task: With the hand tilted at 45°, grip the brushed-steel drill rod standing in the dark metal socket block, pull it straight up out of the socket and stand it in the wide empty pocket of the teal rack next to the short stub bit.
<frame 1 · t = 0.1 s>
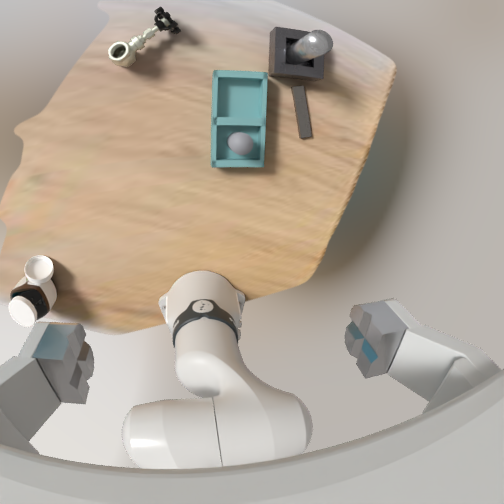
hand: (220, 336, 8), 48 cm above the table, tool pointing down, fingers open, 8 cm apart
valve: (144, 44, 40), on the table
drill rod: (294, 55, 45), point 1 cm above the table, touching socket block
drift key: (300, 111, 51), on the table
rack: (236, 118, 50), on the table
spread jar: (42, 276, 54), on the table
socket block: (292, 56, 46), on the table
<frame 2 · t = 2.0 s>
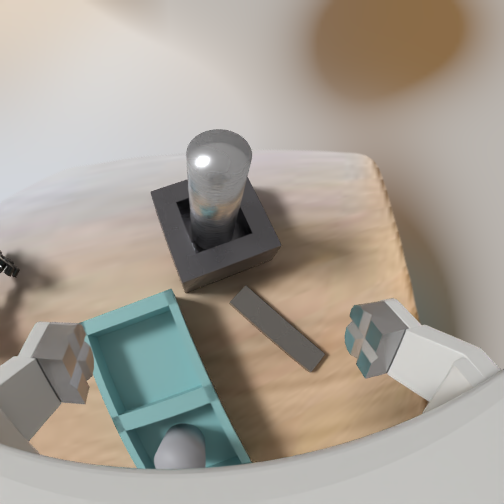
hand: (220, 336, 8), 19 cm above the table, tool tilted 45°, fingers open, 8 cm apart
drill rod: (212, 230, 29), point 1 cm above the table, touching socket block
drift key: (275, 330, 28), on the table
rack: (166, 398, 24), on the table
socket block: (212, 234, 30), on the table
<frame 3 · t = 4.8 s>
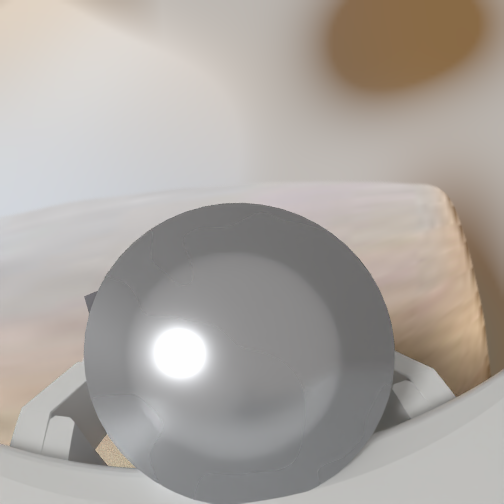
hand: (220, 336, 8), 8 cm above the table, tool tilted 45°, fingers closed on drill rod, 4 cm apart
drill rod: (214, 357, 14), point 1 cm above the table, touching gripper, socket block
when the fingers open (9 cm above the table, at t = 9.8 s): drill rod stays where it is, resting on rack.
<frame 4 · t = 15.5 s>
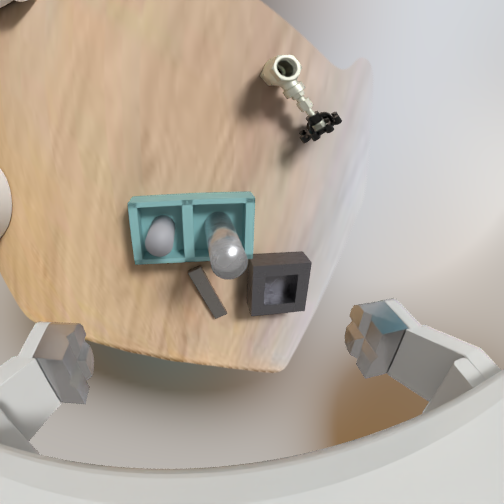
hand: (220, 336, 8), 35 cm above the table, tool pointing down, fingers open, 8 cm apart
valve: (289, 96, 38), on the table
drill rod: (218, 224, 43), point 1 cm above the table, touching rack
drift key: (207, 290, 49), on the table
rack: (192, 223, 43), on the table
socket block: (274, 277, 50), on the table
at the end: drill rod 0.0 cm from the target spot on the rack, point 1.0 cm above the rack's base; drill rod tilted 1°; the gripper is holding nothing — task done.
